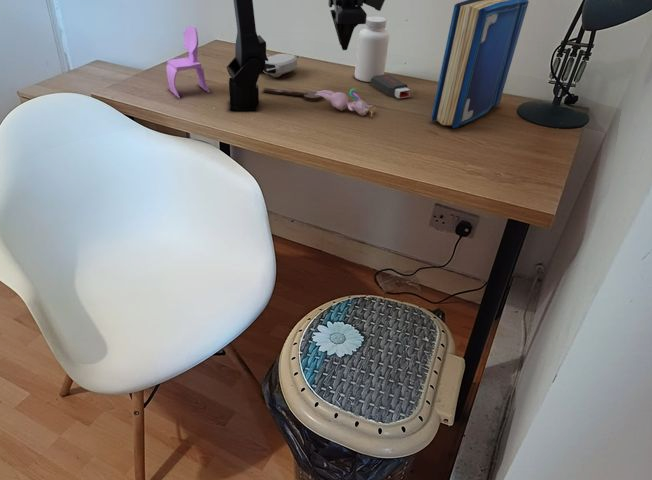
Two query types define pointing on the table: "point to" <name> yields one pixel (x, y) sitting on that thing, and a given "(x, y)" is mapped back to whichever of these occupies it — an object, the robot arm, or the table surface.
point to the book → (477, 59)
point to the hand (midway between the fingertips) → (343, 47)
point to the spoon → (295, 94)
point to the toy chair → (186, 61)
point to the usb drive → (390, 86)
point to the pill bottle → (372, 49)
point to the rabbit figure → (346, 101)
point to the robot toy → (280, 64)
